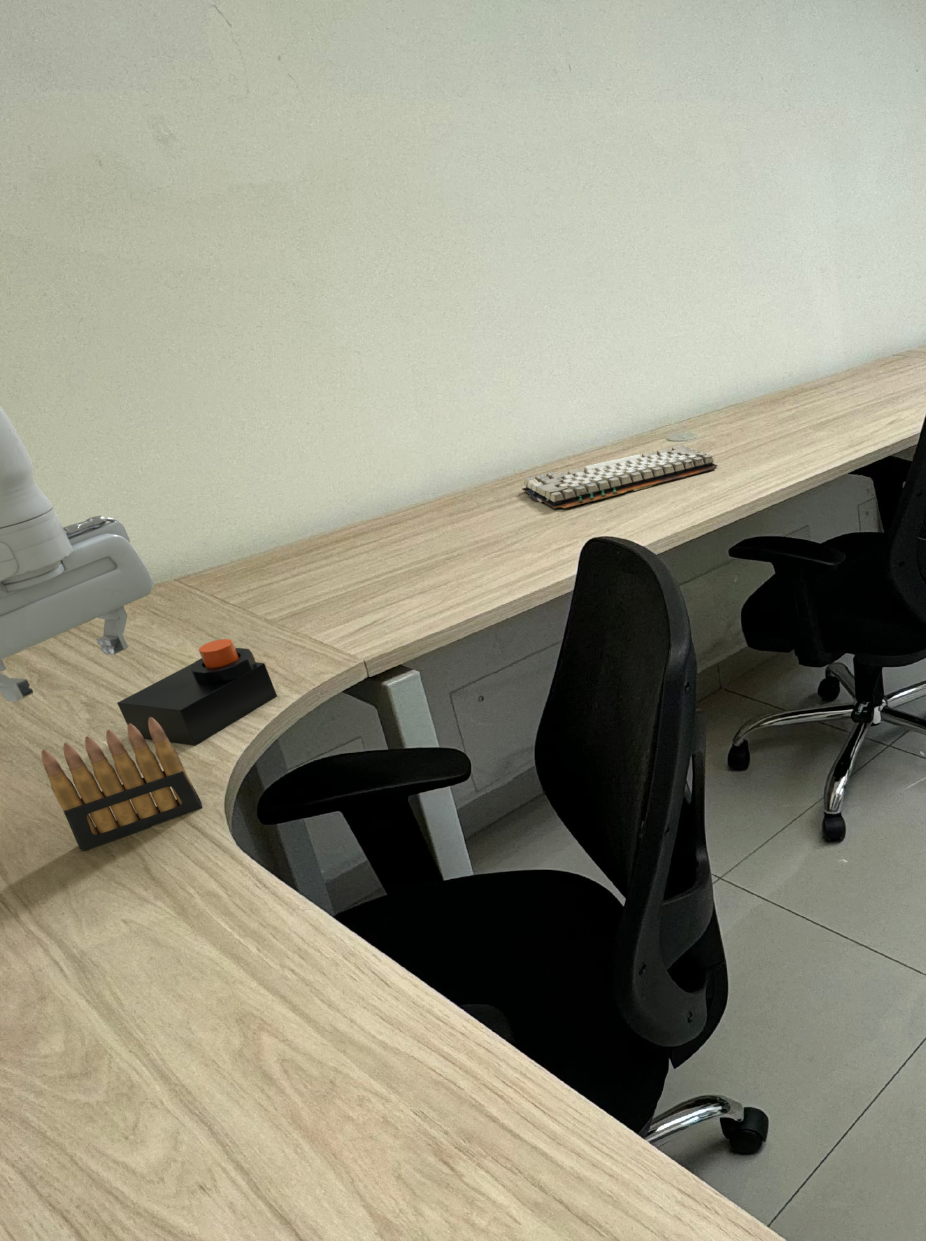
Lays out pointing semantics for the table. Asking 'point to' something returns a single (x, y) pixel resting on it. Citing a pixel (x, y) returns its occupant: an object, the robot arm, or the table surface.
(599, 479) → the mechanical keyboard
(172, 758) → the ammunition clip
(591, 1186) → the table surface
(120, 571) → the robot arm
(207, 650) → the orange push button
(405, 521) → the table surface
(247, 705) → the push button box
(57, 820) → the table surface
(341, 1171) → the table surface
